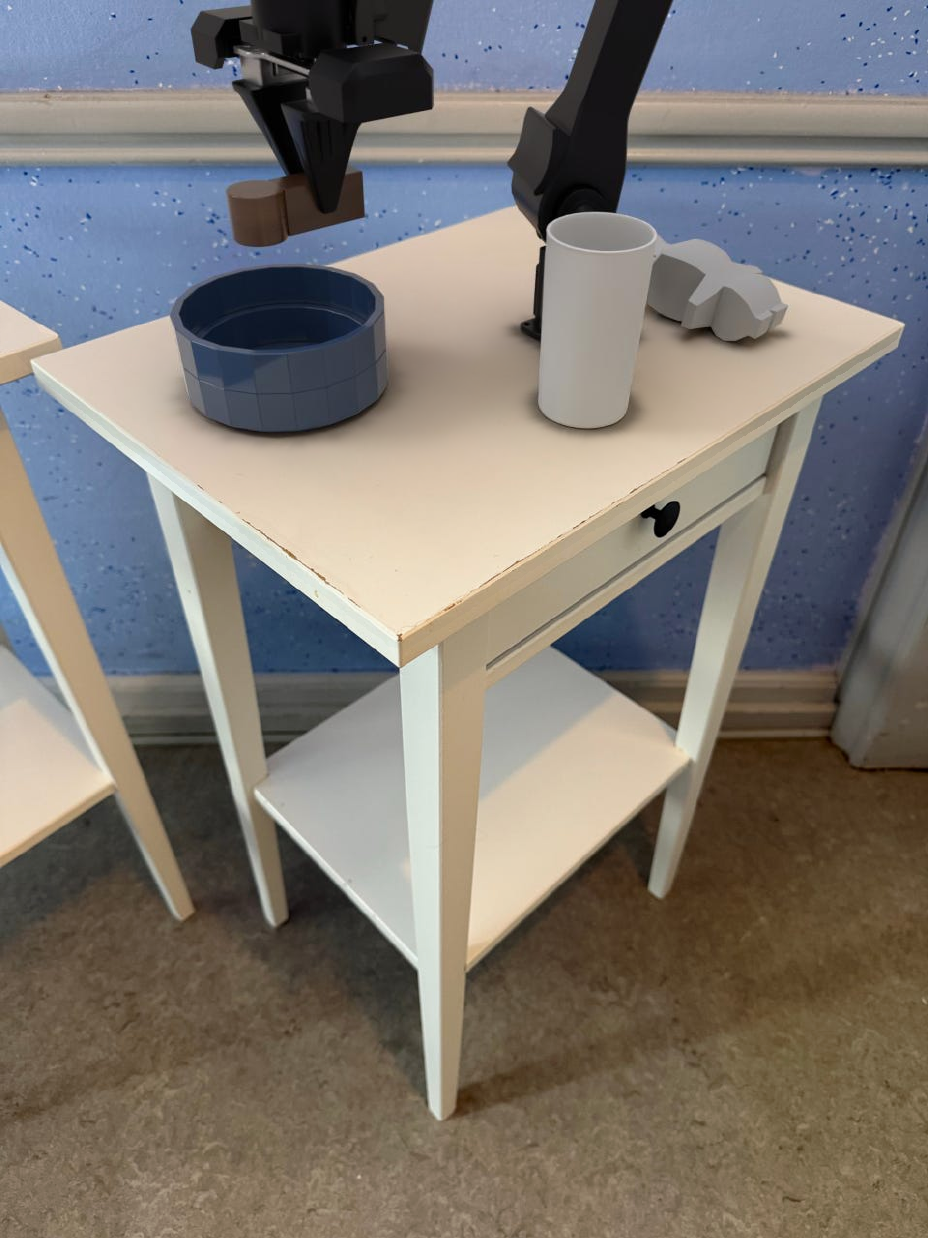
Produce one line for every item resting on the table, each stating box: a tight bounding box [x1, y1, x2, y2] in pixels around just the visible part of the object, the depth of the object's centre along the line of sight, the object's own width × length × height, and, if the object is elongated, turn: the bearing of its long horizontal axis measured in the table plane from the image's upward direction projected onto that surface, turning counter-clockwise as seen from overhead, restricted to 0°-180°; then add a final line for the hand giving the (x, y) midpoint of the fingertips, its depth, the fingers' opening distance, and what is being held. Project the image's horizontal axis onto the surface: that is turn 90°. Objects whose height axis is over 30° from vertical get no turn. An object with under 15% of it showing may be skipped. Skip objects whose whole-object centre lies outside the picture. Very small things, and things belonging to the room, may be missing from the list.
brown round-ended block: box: [225, 164, 366, 248], centre depth 60 cm, size 4×9×3 cm, turn 129°
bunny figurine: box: [646, 233, 789, 342], centre depth 73 cm, size 10×5×15 cm
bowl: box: [169, 263, 389, 433], centre depth 63 cm, size 14×14×6 cm
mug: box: [537, 212, 658, 429], centre depth 61 cm, size 10×7×12 cm, turn 142°
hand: (318, 206), depth 61 cm, fingers closed on brown round-ended block, 2 cm apart
